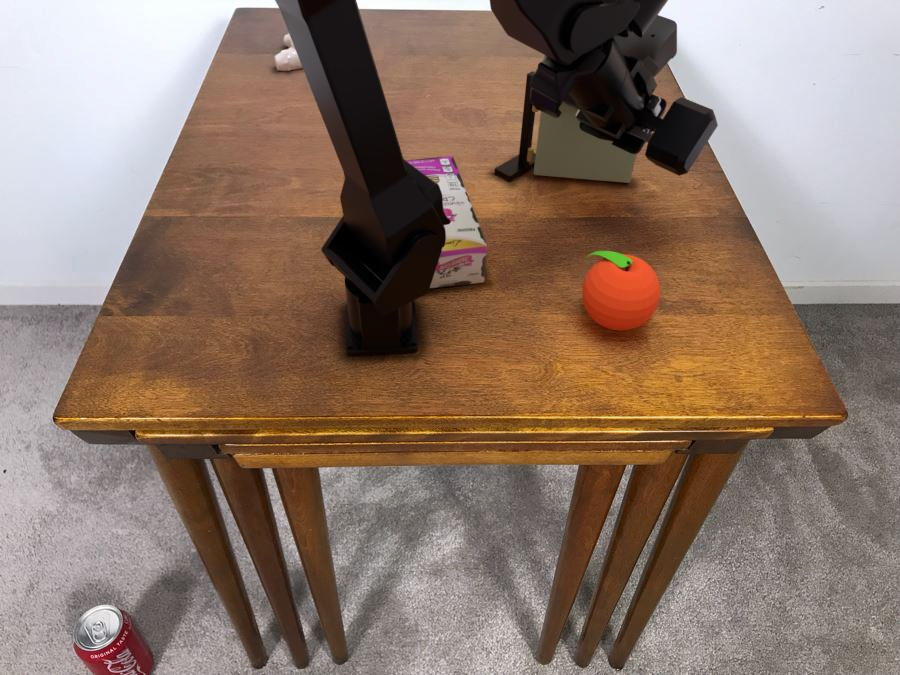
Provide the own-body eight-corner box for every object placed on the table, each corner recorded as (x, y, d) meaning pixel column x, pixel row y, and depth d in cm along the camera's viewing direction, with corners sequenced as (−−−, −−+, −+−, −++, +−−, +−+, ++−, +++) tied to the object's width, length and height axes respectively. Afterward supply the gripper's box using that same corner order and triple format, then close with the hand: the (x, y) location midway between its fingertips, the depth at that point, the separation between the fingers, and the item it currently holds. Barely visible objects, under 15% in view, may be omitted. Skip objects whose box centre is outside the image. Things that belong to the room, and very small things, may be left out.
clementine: (553, 313, 68) (563, 254, 63) (597, 280, 71) (610, 222, 66) (622, 358, 64) (638, 299, 59) (665, 320, 67) (684, 262, 62)
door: (629, 183, 83) (649, 98, 75) (533, 174, 84) (543, 90, 76) (629, 176, 84) (648, 92, 76) (534, 168, 85) (544, 84, 77)
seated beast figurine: (287, 43, 108) (274, -42, 99) (343, 45, 108) (336, -40, 99) (273, 72, 101) (259, -17, 93) (334, 74, 101) (325, -15, 93)
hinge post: (513, 184, 83) (523, 86, 74) (494, 174, 84) (501, 76, 76) (546, 165, 86) (559, 68, 77) (527, 155, 87) (537, 59, 79)
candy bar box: (453, 151, 78) (490, 244, 67) (451, 190, 82) (487, 284, 71) (351, 161, 76) (372, 258, 65) (354, 200, 80) (374, 298, 69)
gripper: (740, 25, 59) (760, 106, 72) (562, -35, 68) (609, 47, 81) (665, 145, 60) (698, 202, 74) (500, 71, 69) (556, 134, 83)
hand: (638, 141), depth 78 cm, fingers closed
